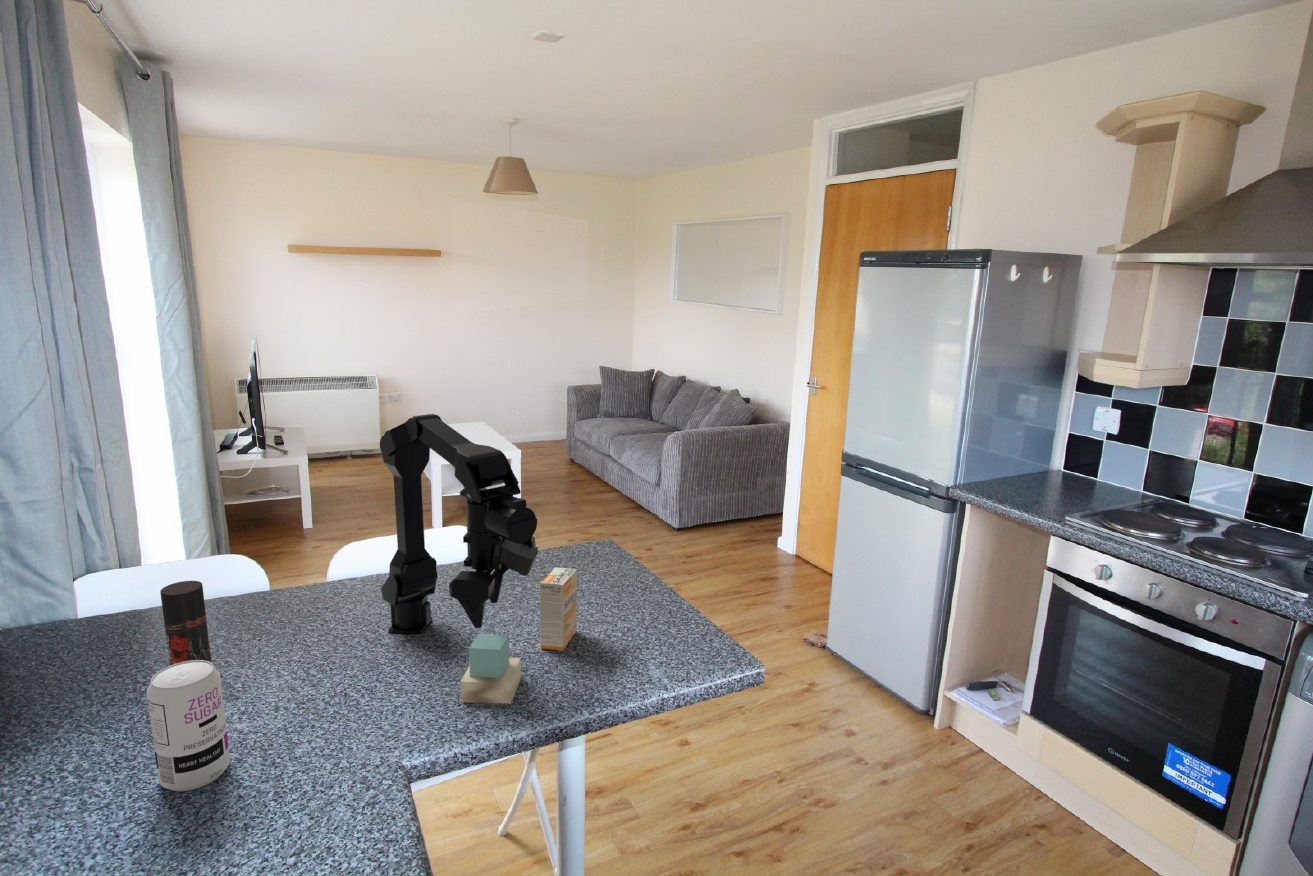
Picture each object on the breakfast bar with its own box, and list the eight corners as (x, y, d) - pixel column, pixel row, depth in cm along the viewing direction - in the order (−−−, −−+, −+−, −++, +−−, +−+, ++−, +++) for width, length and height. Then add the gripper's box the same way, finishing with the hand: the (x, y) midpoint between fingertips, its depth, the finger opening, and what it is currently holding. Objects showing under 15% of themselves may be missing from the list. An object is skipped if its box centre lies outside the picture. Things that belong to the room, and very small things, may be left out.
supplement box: (564, 652, 133) (563, 585, 130) (539, 649, 134) (538, 582, 131) (578, 631, 141) (577, 568, 138) (554, 629, 141) (553, 566, 139)
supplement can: (180, 756, 102) (167, 658, 99) (241, 754, 102) (230, 657, 99) (145, 796, 94) (130, 691, 91) (212, 793, 94) (199, 689, 91)
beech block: (461, 704, 116) (460, 681, 115) (474, 678, 124) (474, 656, 123) (510, 705, 116) (510, 683, 115) (521, 679, 124) (520, 658, 123)
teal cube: (469, 676, 117) (468, 647, 116) (480, 661, 122) (480, 633, 121) (499, 678, 116) (499, 650, 115) (509, 663, 121) (508, 635, 120)
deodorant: (219, 665, 126) (210, 584, 123) (185, 681, 121) (174, 597, 117) (197, 657, 128) (187, 578, 125) (163, 673, 123) (152, 590, 120)
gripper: (519, 550, 108) (519, 645, 112) (545, 511, 127) (545, 594, 130) (446, 546, 109) (449, 640, 112) (483, 508, 127) (485, 590, 131)
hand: (486, 614), depth 121 cm, fingers open, 9 cm apart
